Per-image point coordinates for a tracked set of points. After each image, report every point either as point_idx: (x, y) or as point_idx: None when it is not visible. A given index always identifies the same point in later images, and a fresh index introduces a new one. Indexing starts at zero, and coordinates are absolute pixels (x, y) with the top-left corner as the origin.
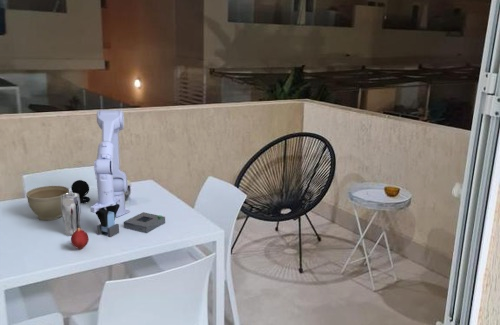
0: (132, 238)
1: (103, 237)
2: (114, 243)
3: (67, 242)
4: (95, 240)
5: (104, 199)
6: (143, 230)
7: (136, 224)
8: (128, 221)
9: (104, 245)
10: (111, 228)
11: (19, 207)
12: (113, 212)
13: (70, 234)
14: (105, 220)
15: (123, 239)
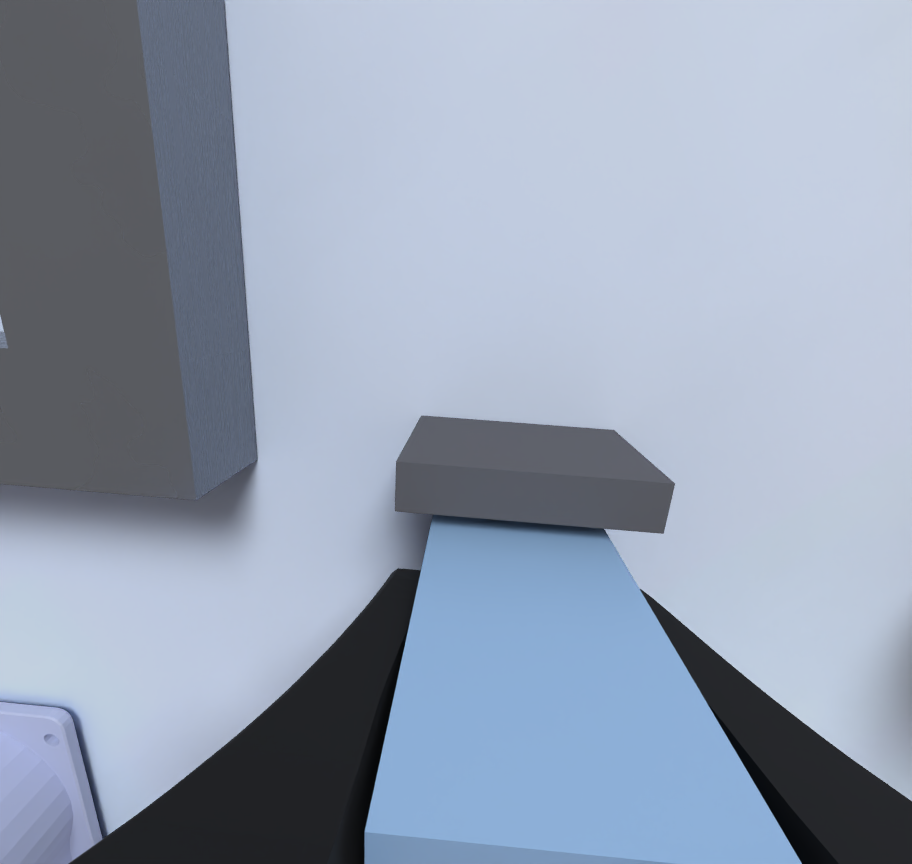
0: (518, 60)
1: None
2: (798, 225)
3: (893, 765)
4: (762, 541)
5: None
6: (200, 4)
7: (147, 178)
8: (136, 430)
9: (905, 324)
10: (615, 472)
11: None
12: (404, 837)
13: None
14: (779, 704)
15: (609, 190)
